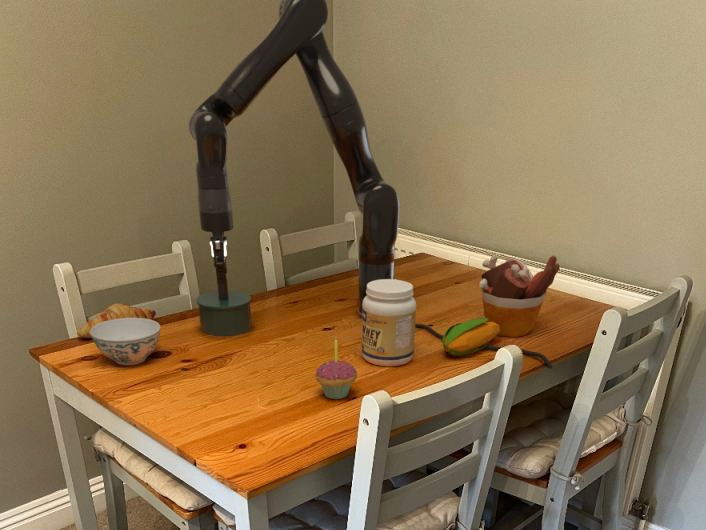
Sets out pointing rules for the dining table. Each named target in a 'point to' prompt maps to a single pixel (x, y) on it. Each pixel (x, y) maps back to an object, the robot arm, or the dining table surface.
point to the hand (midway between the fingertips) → (222, 278)
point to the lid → (223, 298)
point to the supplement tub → (388, 322)
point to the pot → (225, 321)
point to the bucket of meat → (514, 294)
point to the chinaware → (126, 339)
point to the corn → (469, 336)
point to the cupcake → (336, 376)
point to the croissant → (115, 316)
